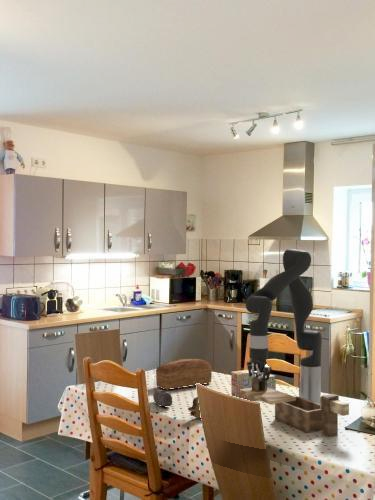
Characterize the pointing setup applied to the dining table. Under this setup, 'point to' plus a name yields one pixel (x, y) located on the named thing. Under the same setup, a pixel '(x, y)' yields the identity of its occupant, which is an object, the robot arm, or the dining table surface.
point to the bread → (183, 373)
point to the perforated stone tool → (162, 398)
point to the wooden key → (338, 407)
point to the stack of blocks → (246, 382)
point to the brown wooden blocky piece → (309, 415)
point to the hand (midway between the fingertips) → (258, 389)
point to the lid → (266, 393)
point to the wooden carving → (195, 408)
